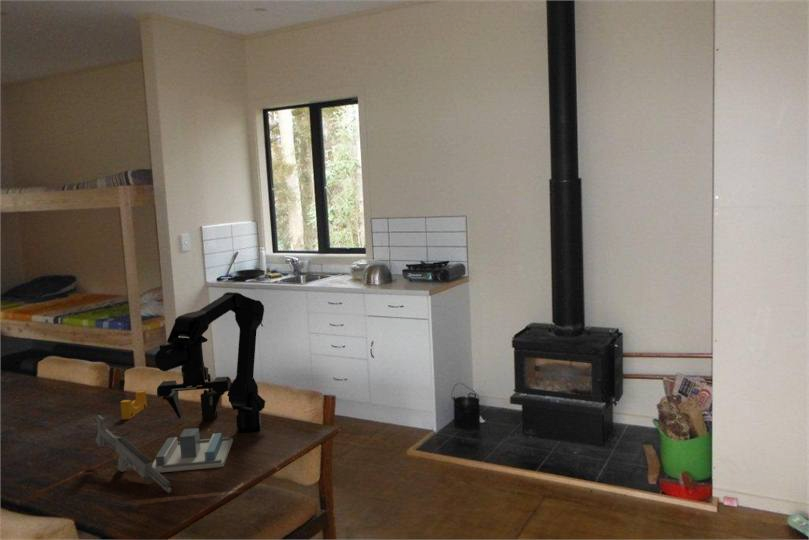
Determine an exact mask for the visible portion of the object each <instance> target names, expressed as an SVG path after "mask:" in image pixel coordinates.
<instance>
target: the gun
mask: <svg viewBox="0 0 809 540" xmlns="http://www.w3.org/2000/svg"><path fill="white" fill-rule="evenodd" d="M95 418H96V419H95V420H96V426H97V434H96V439H95V443H96V444H97V445H98V446H99V447H104V446H105V443H106V442H105V441H107V442H109V444H110V445H112V446H113V447H114V448H115V452H116V453H117V454H118V455H119V456H118V459H117V469H118V470H119V471H120V472H121V473H123V472H126V467H129V469H133V470H134V471H135V472H136V473H137V474H138V475H140V477H141V478H142V479H144V480H145V481H147V480H148V479H150V480H151V479H152V480H154V482H155V483H157V484H158V485H159V486H161V488H162V490H164V491H165V492H167V493H168V494H170V493H172V488H171V484H170V483H171V482H170V481H169V480H168V479H167V478H166V477H165V476H164V475H163V474H161V472H160V473H159V472H158V471H157V470H156V469H154V468H153V467H152V464H153V462H154V461H152V460H151V459H149V458H148V457H147V456H146V455H145V454H144V453H142V452H141V451H140V450H139V449H138V448H137V447H136V446H134V444H132V442H130V441H129V440H128V439H126V438H125V437H124V436H117V435H115V434H113V432H112V431H110V430H109V429H108V428H107V427H106V423H105V422H106V419H105V418H104V417H103V416H102V415H101V414H98V415H96V417H95Z"/></svg>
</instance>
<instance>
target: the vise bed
mask: <svg viewBox="0 0 809 540" xmlns="http://www.w3.org/2000/svg"><path fill="white" fill-rule="evenodd" d="M222 438H223V442H222V444H221V447H220V449H219V451H218V454H217V456H216V459H215V460H208V461H205V455H204V452H205V450H206V448H207V446H208V443H209V441H210V439H211V438H204V439H203V438H200V448H201V449H200V451H199V453H198V455H197V457H190V458H181V449H180V440H179V441H178V437H177V436H175V437H168V438H167V439H166V440H165V442H164V443H163V445H162V446H161V448H160V450H159V451H158V453H157V454H156V455H155V459H154V461H152V462H153V464H152V467H153V468H154V469H156V470H157V471H158V472H159V473H160V474H161V473H169V472H181V471H191V470H192V471H193V470H202V469H214V468H222V467H224V466H225V464H226V461H227V459H228V456H229V453H230V450H231V448H232V445H233V441H234V438H231V436H228V437H227V436H226V437H225V436H224V437H222Z"/></svg>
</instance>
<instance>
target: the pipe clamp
mask: <svg viewBox="0 0 809 540" xmlns="http://www.w3.org/2000/svg"><path fill="white" fill-rule="evenodd" d="M147 403H148V402H147V392H146V390H137V391H136V392H135V399H134V400H132V399H123V400H121V401H120V410H121V420H131V419H133V417H135V416H136V415H137V414H139V413H140V412H141V411H143V410H144V409H145V408H147V407H148V404H147Z"/></svg>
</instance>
